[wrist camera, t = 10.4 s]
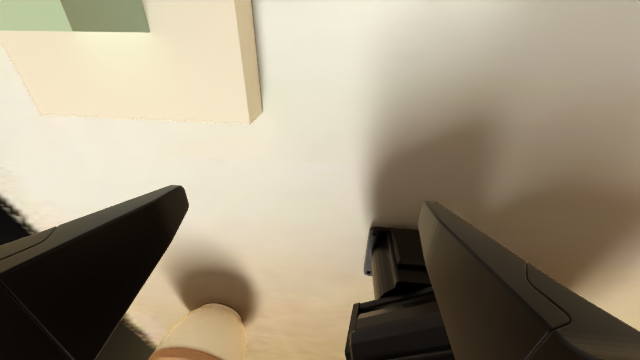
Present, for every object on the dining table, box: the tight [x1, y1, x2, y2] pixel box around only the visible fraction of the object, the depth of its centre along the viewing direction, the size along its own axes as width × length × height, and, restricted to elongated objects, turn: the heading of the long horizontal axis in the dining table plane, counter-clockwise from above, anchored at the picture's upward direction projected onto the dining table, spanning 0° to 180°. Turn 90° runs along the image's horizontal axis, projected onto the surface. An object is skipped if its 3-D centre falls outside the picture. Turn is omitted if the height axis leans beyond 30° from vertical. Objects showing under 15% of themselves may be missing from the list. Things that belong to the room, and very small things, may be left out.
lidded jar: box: [148, 303, 247, 360], centre depth 31 cm, size 11×11×9 cm
